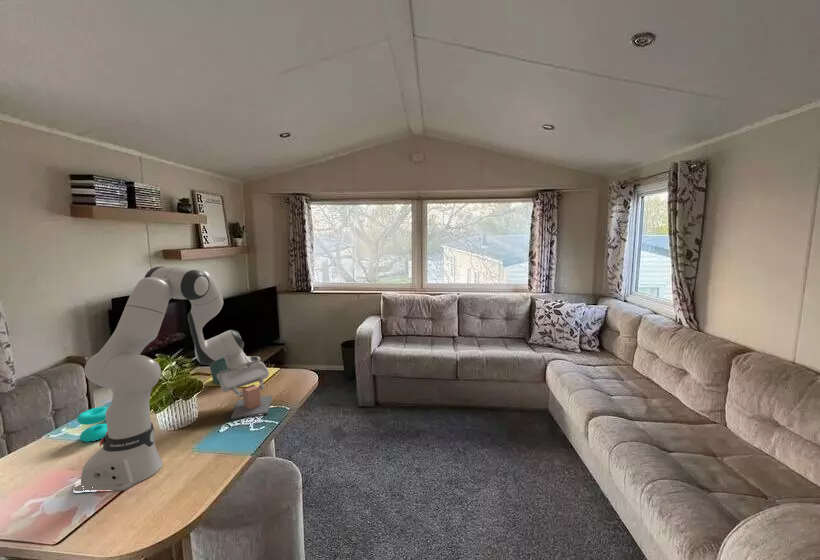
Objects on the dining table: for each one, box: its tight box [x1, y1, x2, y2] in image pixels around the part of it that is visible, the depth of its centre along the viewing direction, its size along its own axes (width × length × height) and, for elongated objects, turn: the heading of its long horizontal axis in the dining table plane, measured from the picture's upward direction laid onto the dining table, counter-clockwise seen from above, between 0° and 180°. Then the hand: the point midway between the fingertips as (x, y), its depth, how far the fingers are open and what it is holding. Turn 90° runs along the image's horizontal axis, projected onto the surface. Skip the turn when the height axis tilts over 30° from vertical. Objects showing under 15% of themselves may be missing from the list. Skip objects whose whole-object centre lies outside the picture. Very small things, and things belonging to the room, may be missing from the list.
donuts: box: [76, 406, 109, 443], centre depth 145 cm, size 10×10×10 cm
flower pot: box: [209, 358, 228, 385], centre depth 198 cm, size 16×16×16 cm
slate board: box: [230, 395, 273, 420], centre depth 166 cm, size 14×17×1 cm
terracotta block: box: [241, 384, 261, 409], centre depth 165 cm, size 5×5×8 cm
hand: (251, 392), depth 164 cm, fingers open, 8 cm apart
